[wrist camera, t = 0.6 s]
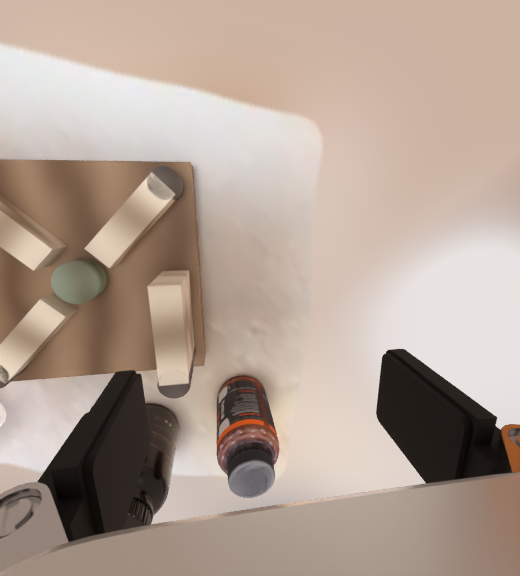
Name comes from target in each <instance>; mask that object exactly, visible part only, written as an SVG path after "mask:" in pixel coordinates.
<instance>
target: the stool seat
mask: <svg viewBox="0 0 520 576" xmlns="http://www.w3.org/2000/svg"><path fill="white" fill-rule="evenodd" d="M176 270H189V278H190V291H191V304H192V317H193V330H194V343H195V347H196V354H195V360H194V366H204V362H205V343H204V328H203V313H202V298H201V283H200V268H199V253H198V238H197V223H196V208H195V193H194V178H193V166H192V165H191V163H190V162H141V161H69V160H0V388H3V387H5V386H6V385H7V384H8V383H10V382H11V381H21V380H34V379H46V378H58V377H70V376H83V375H95V374H107V373H116V372H117V371H127V370H135V371H144V370H156V369H157V365H156V356H155V348H154V339H153V330H152V322H151V313H150V305H149V296H148V288H147V286H148V285H149V284H150V283H151V282H152V281H153V280H154V279H155V278H156V277H157V276H158V275H159V274H160V273H161V272H162V271H176Z"/></svg>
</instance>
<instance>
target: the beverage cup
mask: <svg viewBox="0 0 520 576" xmlns="http://www.w3.org/2000/svg"><path fill="white" fill-rule="evenodd" d="M6 415H7V414H6V411H5V408H4V406H3V405H2V404H1V403H0V427H1V425H2V424H3V423H4V422H5V419H6Z"/></svg>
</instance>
